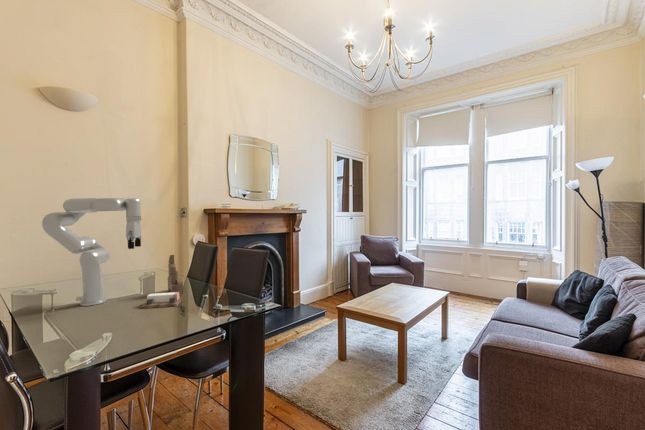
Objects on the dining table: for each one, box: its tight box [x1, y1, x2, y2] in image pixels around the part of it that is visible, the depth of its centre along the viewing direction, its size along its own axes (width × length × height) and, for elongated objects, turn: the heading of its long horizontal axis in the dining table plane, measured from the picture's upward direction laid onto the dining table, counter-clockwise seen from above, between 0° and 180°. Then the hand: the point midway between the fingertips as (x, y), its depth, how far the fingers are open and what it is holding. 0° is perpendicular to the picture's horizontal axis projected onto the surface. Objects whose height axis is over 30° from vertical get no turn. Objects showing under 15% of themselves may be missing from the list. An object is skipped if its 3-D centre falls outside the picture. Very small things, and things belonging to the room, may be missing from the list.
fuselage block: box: [146, 292, 179, 303], centre depth 178 cm, size 16×5×4 cm, turn 101°
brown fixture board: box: [141, 293, 184, 310], centre depth 178 cm, size 18×14×4 cm
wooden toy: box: [167, 254, 184, 295], centre depth 201 cm, size 15×7×25 cm, turn 38°
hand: (134, 247), depth 182 cm, fingers open, 9 cm apart
